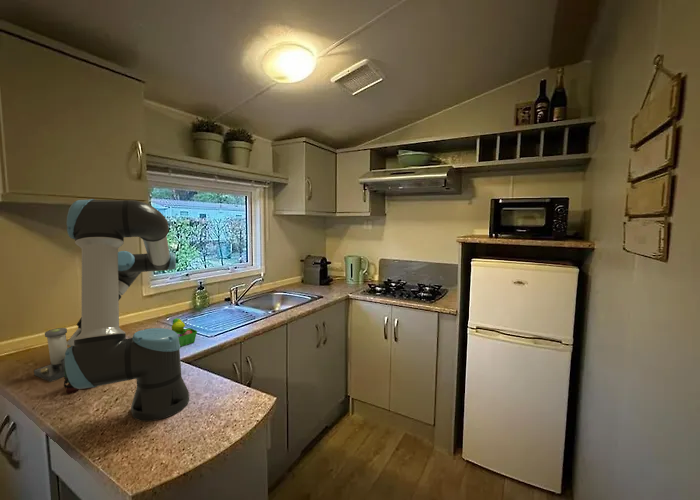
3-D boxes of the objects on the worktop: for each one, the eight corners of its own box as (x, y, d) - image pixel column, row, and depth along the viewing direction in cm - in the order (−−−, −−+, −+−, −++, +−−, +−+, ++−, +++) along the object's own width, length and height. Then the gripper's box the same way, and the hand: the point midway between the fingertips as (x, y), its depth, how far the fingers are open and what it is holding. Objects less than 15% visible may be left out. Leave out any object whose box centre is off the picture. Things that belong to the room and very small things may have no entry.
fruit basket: (172, 350, 140) (171, 324, 138) (163, 345, 145) (161, 320, 144) (198, 342, 149) (197, 318, 147) (188, 337, 154) (187, 314, 153)
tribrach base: (49, 382, 113) (48, 366, 113) (34, 375, 118) (32, 360, 117) (86, 368, 123) (85, 354, 123) (70, 362, 128) (69, 349, 127)
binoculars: (62, 370, 102) (61, 356, 109) (65, 400, 104) (64, 385, 111) (98, 361, 108) (95, 349, 115) (100, 390, 110) (97, 376, 117)
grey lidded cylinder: (54, 366, 116) (49, 334, 115) (45, 363, 119) (41, 331, 117) (74, 359, 122) (70, 328, 120) (65, 356, 124) (61, 326, 123)
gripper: (130, 298, 136) (88, 352, 123) (111, 294, 141) (69, 346, 129) (115, 288, 130) (70, 344, 118) (96, 285, 136) (51, 338, 123)
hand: (70, 345), depth 123 cm, fingers closed
